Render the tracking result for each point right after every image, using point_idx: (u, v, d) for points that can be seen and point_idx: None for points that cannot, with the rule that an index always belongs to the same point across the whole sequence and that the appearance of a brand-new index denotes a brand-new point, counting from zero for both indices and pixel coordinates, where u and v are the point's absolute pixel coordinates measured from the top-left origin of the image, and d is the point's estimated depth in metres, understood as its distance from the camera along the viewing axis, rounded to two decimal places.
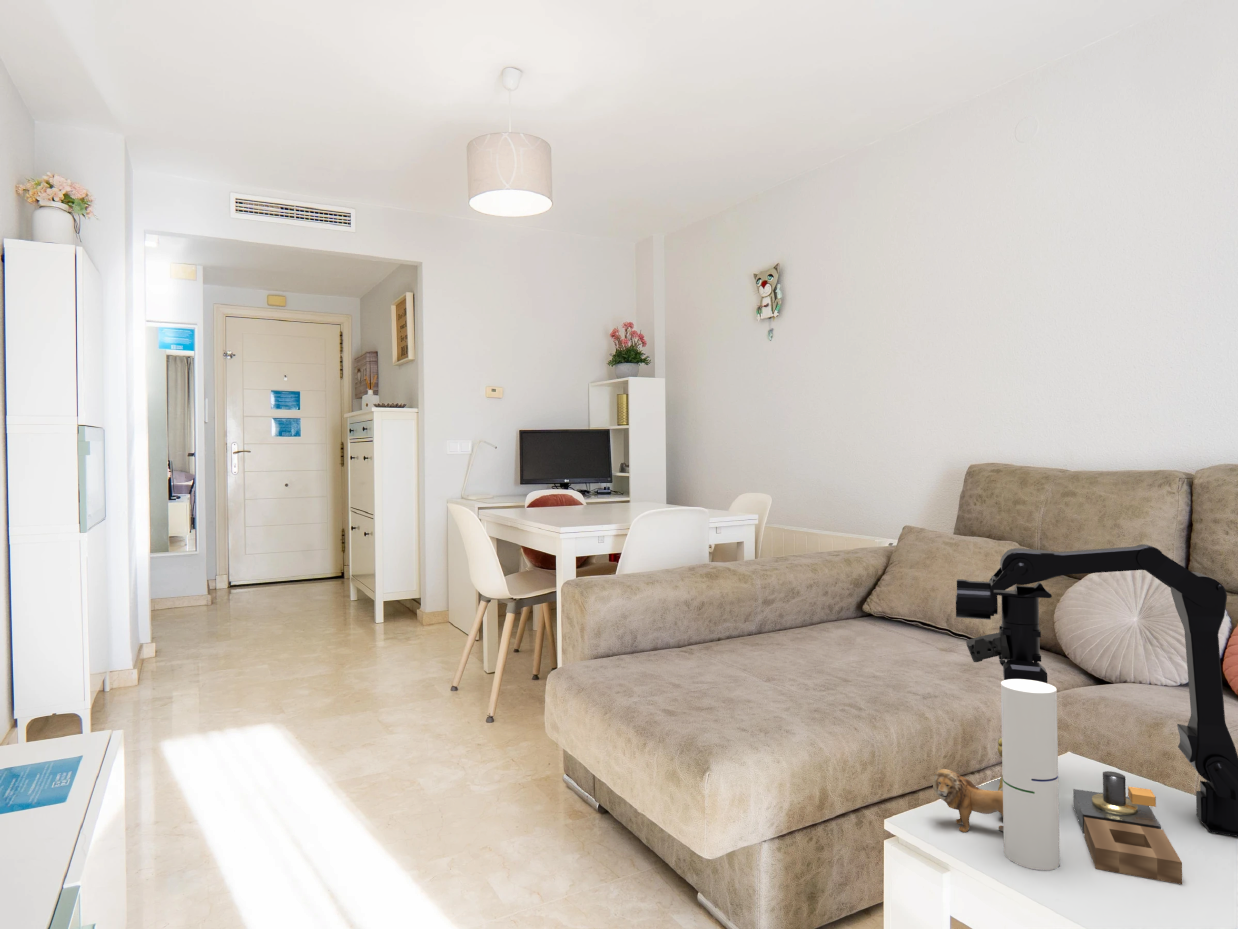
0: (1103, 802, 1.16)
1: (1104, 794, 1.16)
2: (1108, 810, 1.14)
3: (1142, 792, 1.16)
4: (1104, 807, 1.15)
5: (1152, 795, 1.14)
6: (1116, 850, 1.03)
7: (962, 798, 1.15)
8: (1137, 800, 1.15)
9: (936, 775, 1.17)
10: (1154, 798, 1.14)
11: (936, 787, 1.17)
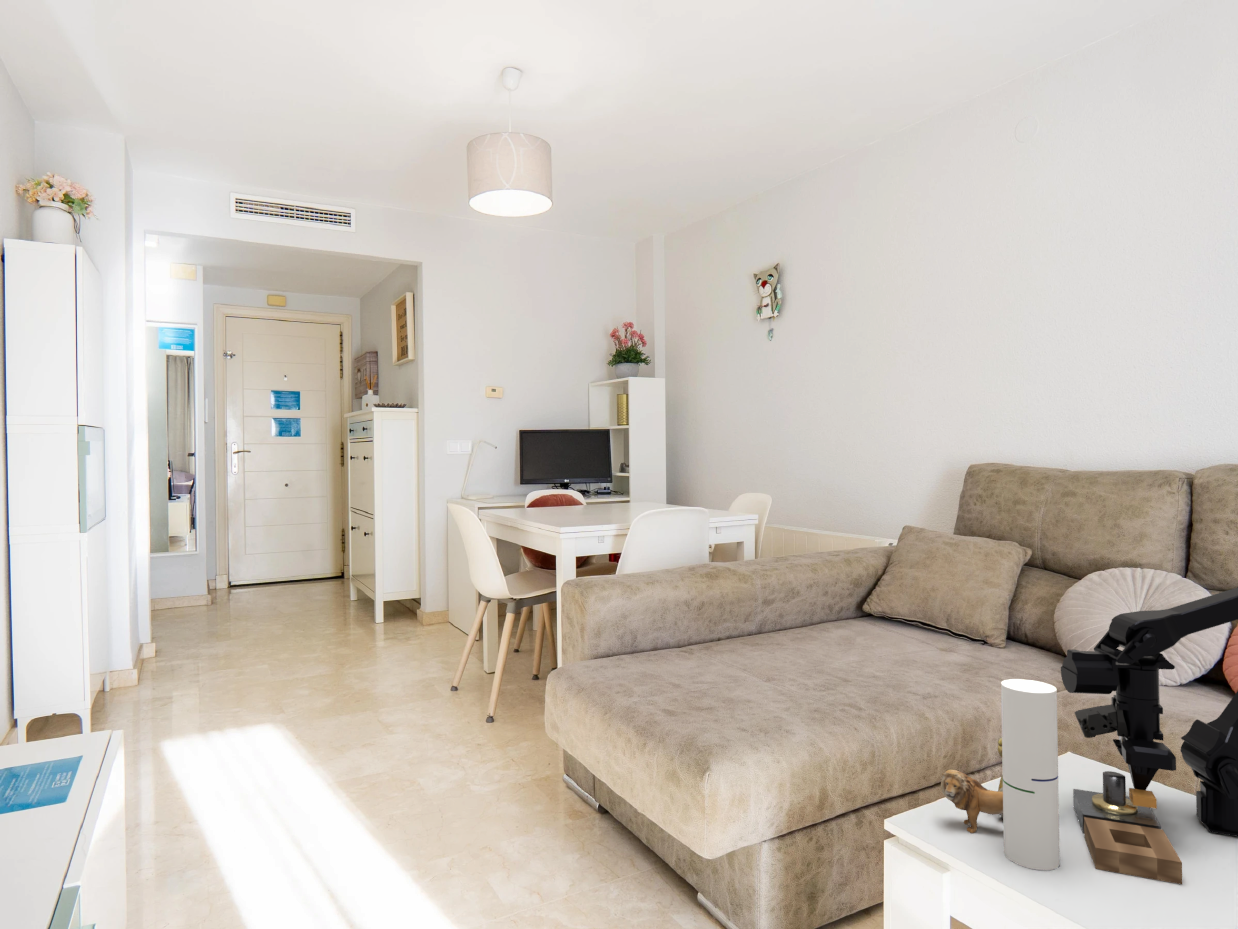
0: (1103, 802, 1.16)
1: (1104, 794, 1.16)
2: (1108, 810, 1.14)
3: (1143, 793, 1.15)
4: (1104, 807, 1.15)
5: (1153, 797, 1.14)
6: (1116, 850, 1.03)
7: (970, 799, 1.15)
8: (1138, 802, 1.14)
9: (944, 776, 1.17)
10: (1155, 800, 1.13)
11: (944, 788, 1.17)
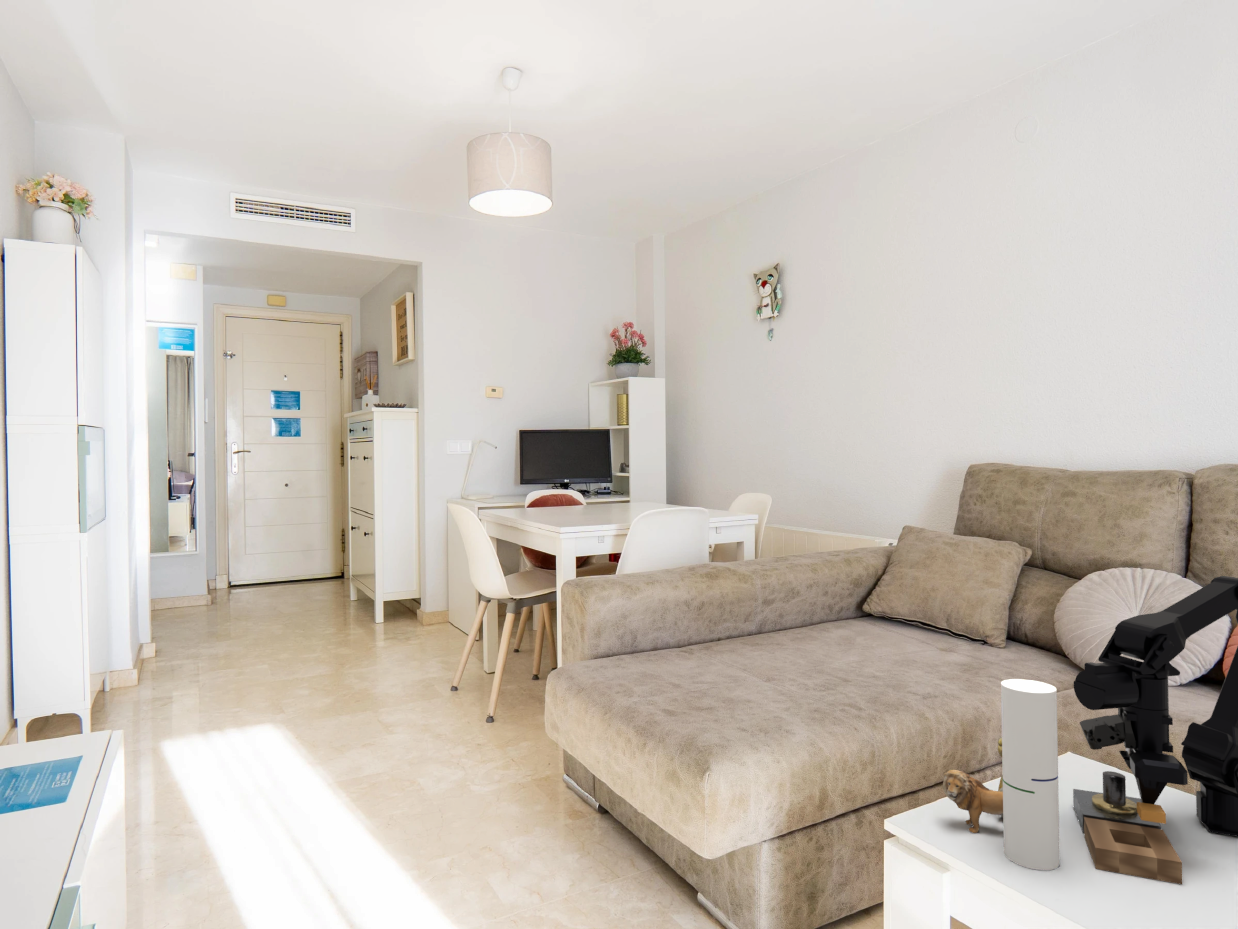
0: (1103, 802, 1.16)
1: (1104, 794, 1.16)
2: (1108, 810, 1.14)
3: (1151, 808, 1.10)
4: (1104, 807, 1.15)
5: (1162, 811, 1.09)
6: (1116, 850, 1.03)
7: (972, 799, 1.15)
8: (1146, 817, 1.09)
9: (946, 776, 1.17)
10: (1164, 815, 1.08)
11: (946, 788, 1.17)
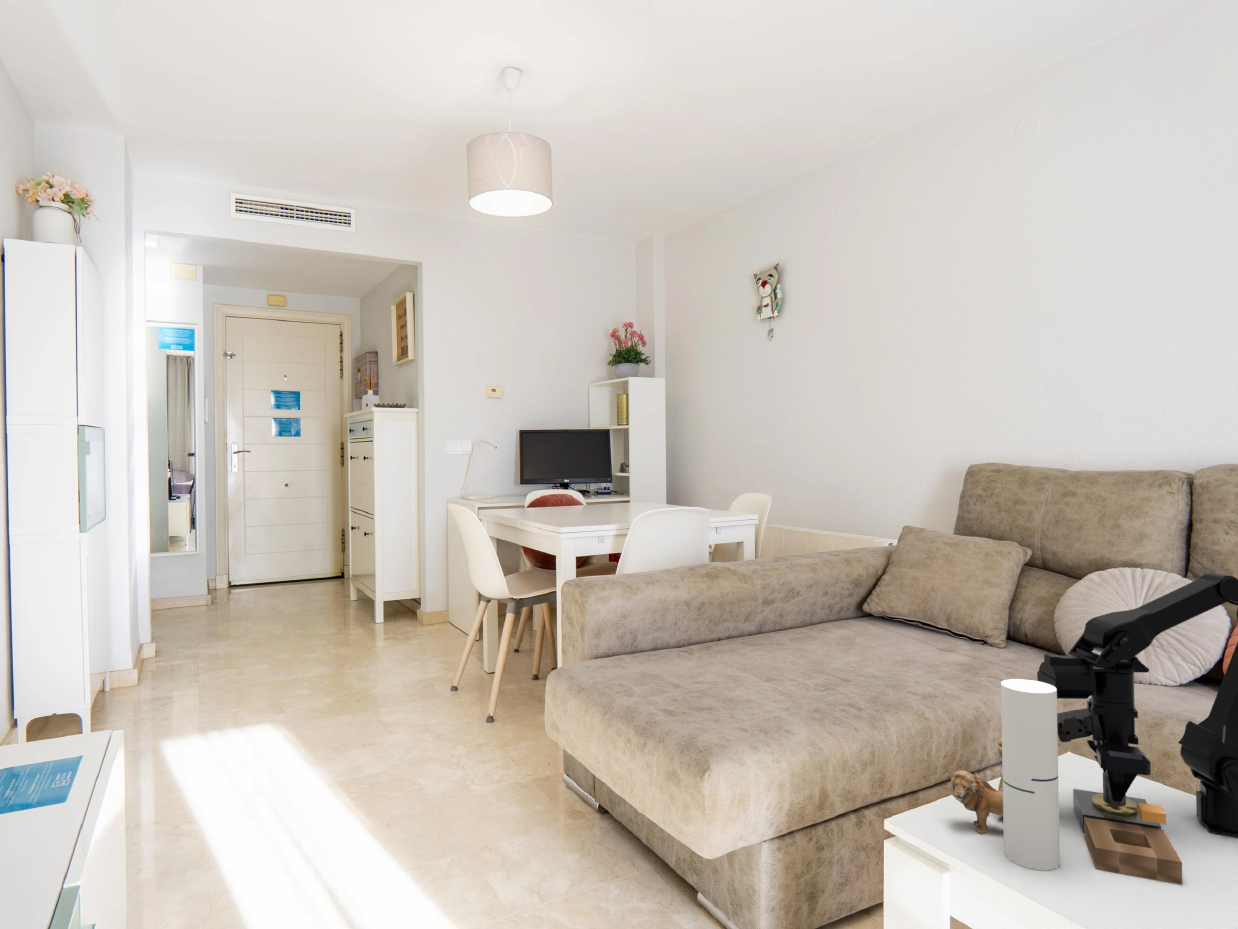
0: (1103, 802, 1.16)
1: (1104, 794, 1.16)
2: (1108, 810, 1.14)
3: (1152, 808, 1.10)
4: (1104, 807, 1.15)
5: (1162, 812, 1.09)
6: (1116, 850, 1.03)
7: (979, 800, 1.14)
8: (1147, 817, 1.09)
9: (953, 776, 1.17)
10: (1165, 815, 1.08)
11: (953, 788, 1.16)
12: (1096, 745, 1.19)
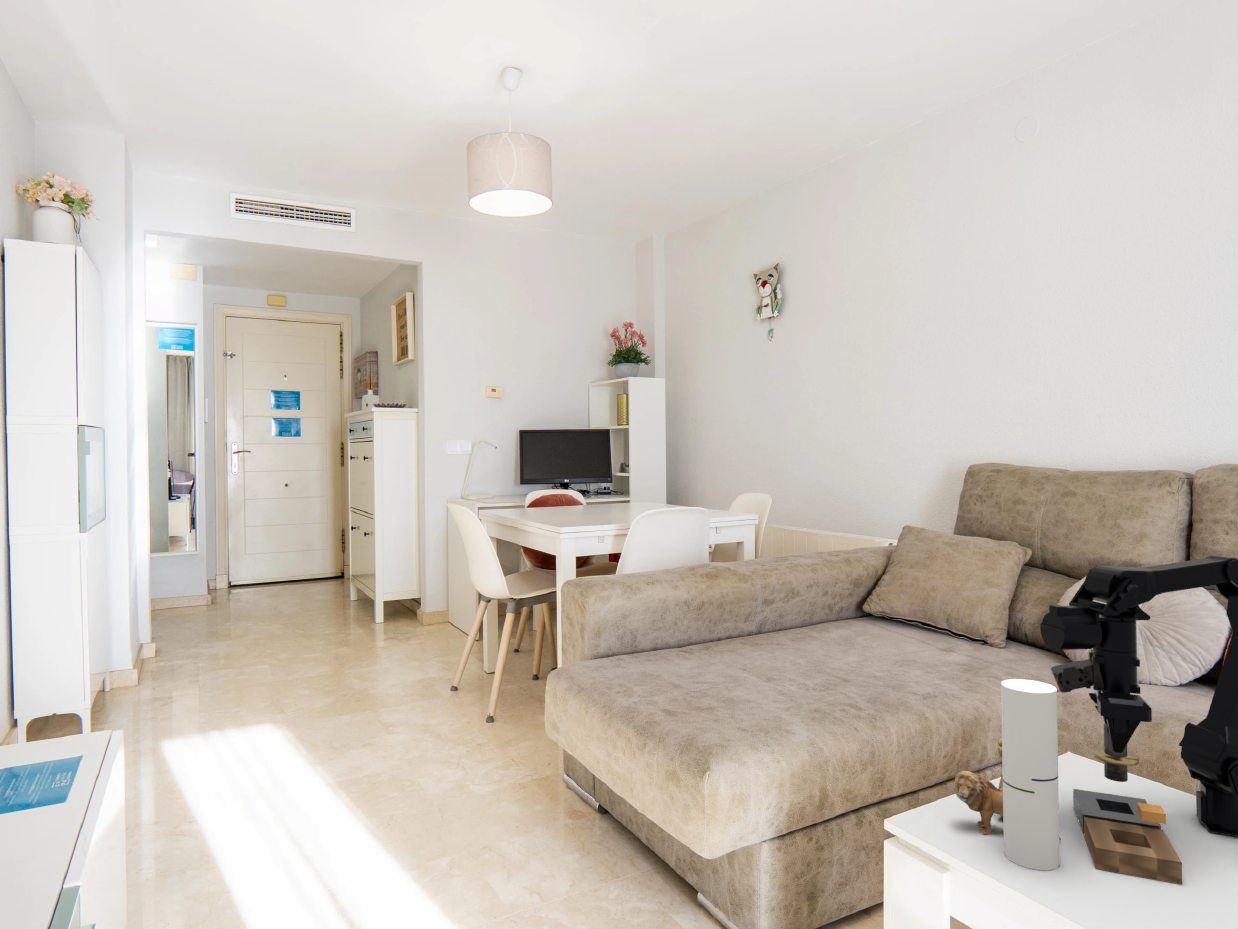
0: (1104, 753, 1.14)
1: (1105, 745, 1.14)
2: (1109, 761, 1.12)
3: (1152, 808, 1.10)
4: (1105, 758, 1.13)
5: (1162, 812, 1.09)
6: (1116, 850, 1.03)
7: (983, 800, 1.14)
8: (1147, 817, 1.09)
9: (957, 777, 1.16)
10: (1165, 815, 1.08)
11: (957, 789, 1.16)
12: (1098, 697, 1.17)
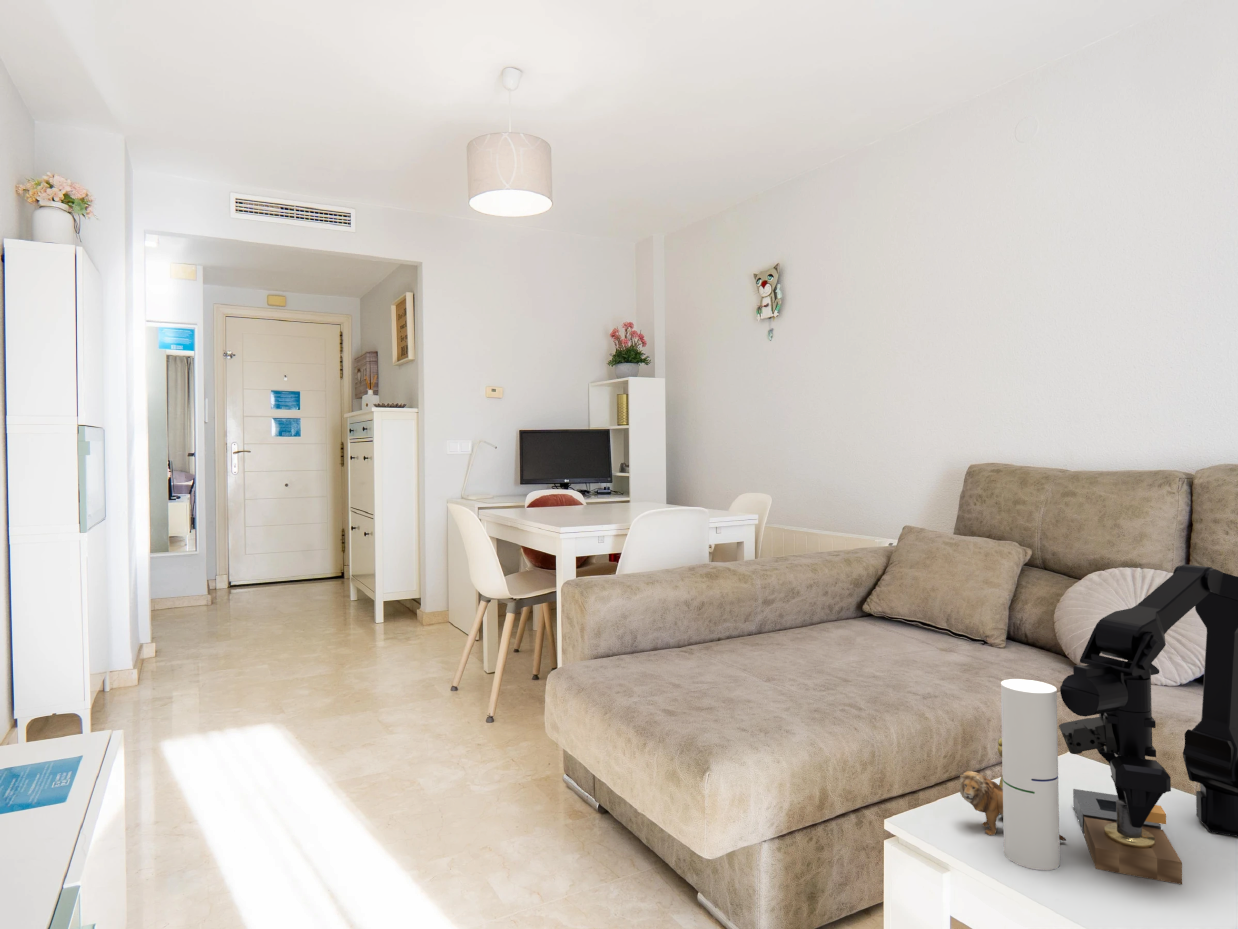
0: (1117, 833, 1.06)
1: (1118, 824, 1.06)
2: (1123, 843, 1.04)
3: None
4: (1118, 839, 1.05)
5: (1162, 812, 1.09)
6: (1116, 850, 1.03)
7: (989, 801, 1.14)
8: (1147, 817, 1.09)
9: (962, 777, 1.16)
10: (1165, 815, 1.08)
11: (962, 789, 1.16)
12: (1106, 751, 1.12)
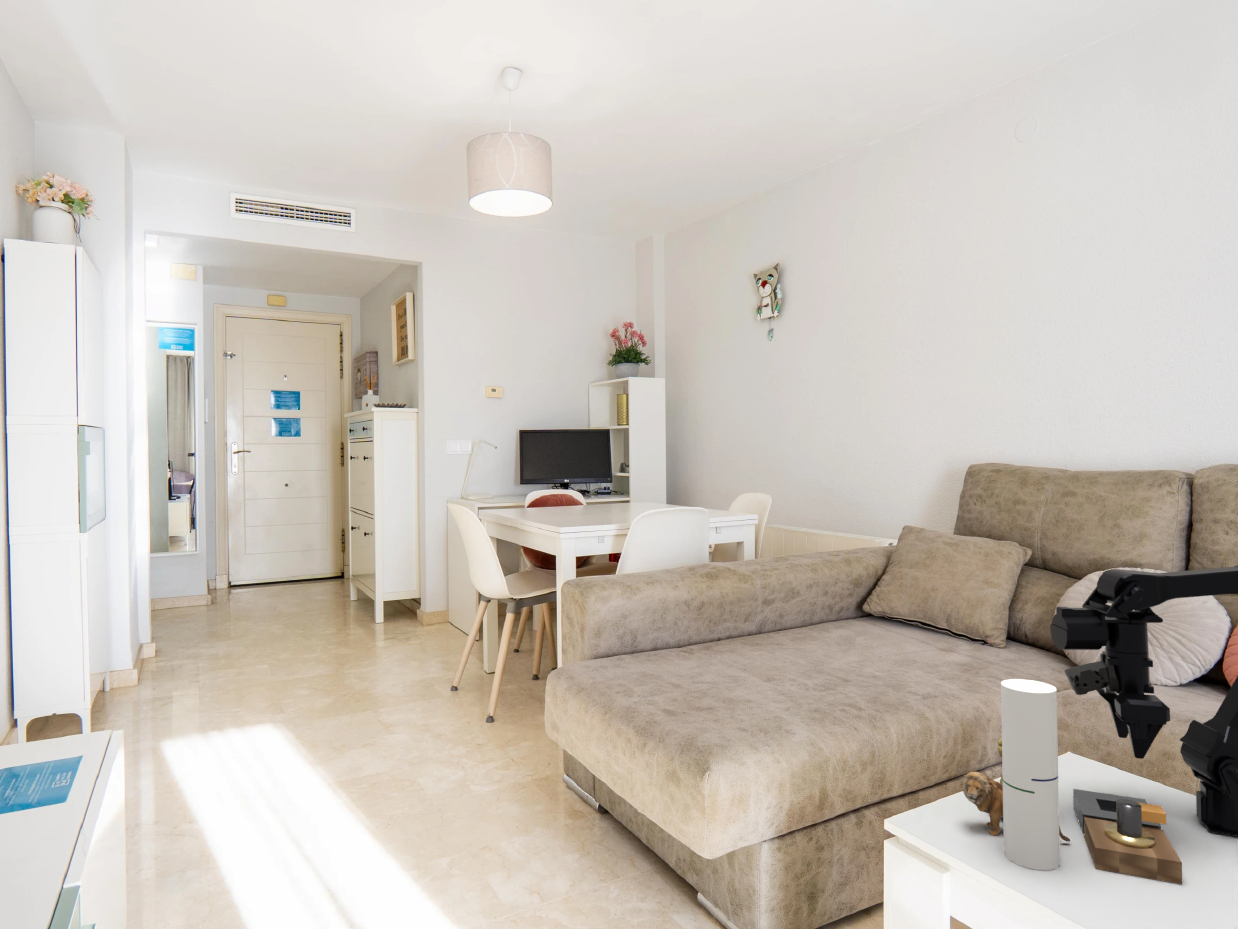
0: (1117, 833, 1.06)
1: (1118, 824, 1.06)
2: (1123, 843, 1.04)
3: (1152, 808, 1.10)
4: (1118, 839, 1.05)
5: (1162, 812, 1.09)
6: (1116, 850, 1.03)
7: (993, 801, 1.14)
8: (1147, 817, 1.09)
9: (966, 778, 1.16)
10: (1165, 815, 1.08)
11: (966, 790, 1.16)
12: (1105, 692, 1.23)
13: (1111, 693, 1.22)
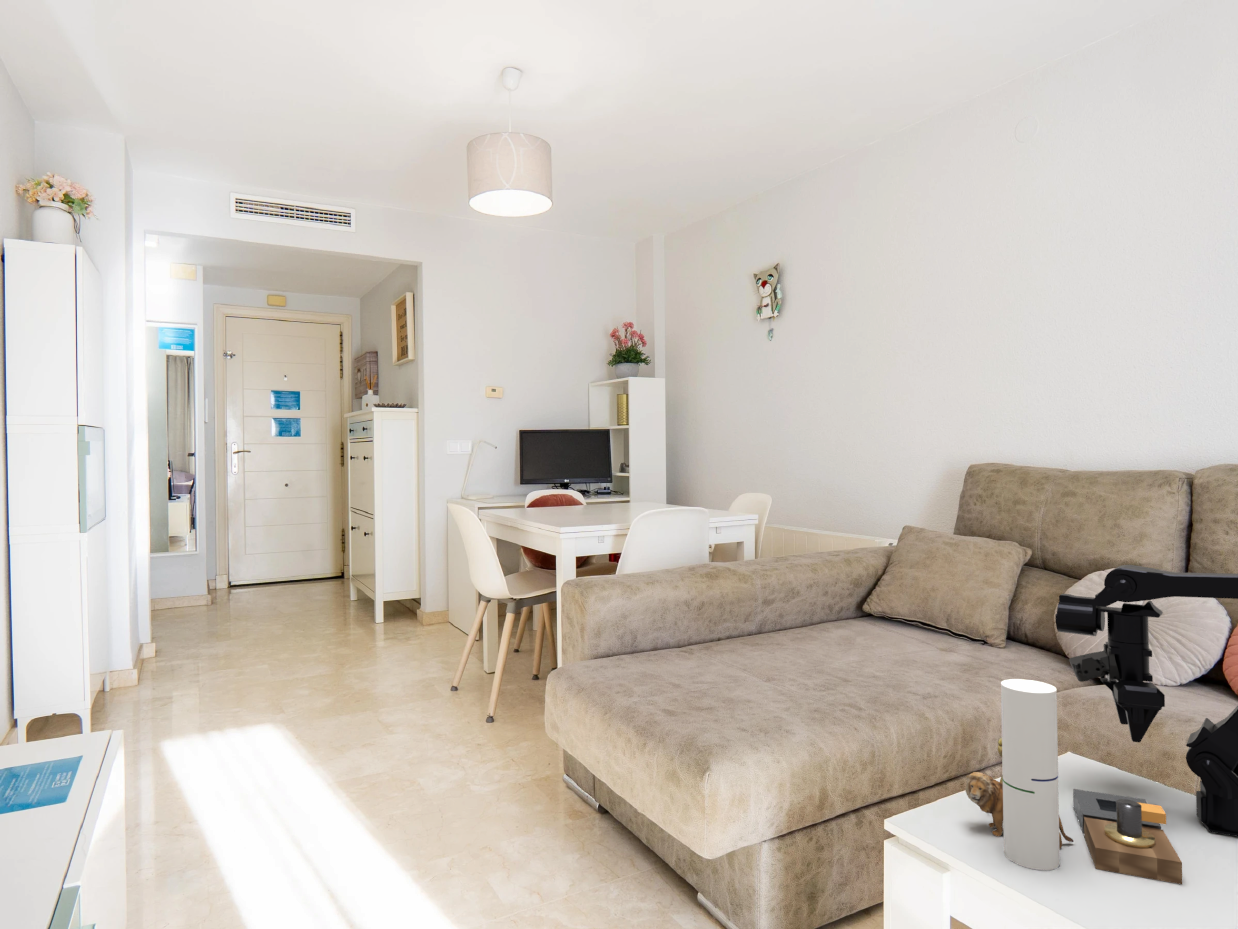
0: (1117, 833, 1.06)
1: (1118, 824, 1.06)
2: (1123, 843, 1.04)
3: (1152, 808, 1.10)
4: (1118, 839, 1.05)
5: (1162, 812, 1.09)
6: (1116, 850, 1.03)
7: (995, 802, 1.14)
8: (1147, 817, 1.09)
9: (968, 778, 1.16)
10: (1165, 815, 1.08)
11: (968, 790, 1.16)
12: (1109, 681, 1.30)
13: (1114, 682, 1.29)
